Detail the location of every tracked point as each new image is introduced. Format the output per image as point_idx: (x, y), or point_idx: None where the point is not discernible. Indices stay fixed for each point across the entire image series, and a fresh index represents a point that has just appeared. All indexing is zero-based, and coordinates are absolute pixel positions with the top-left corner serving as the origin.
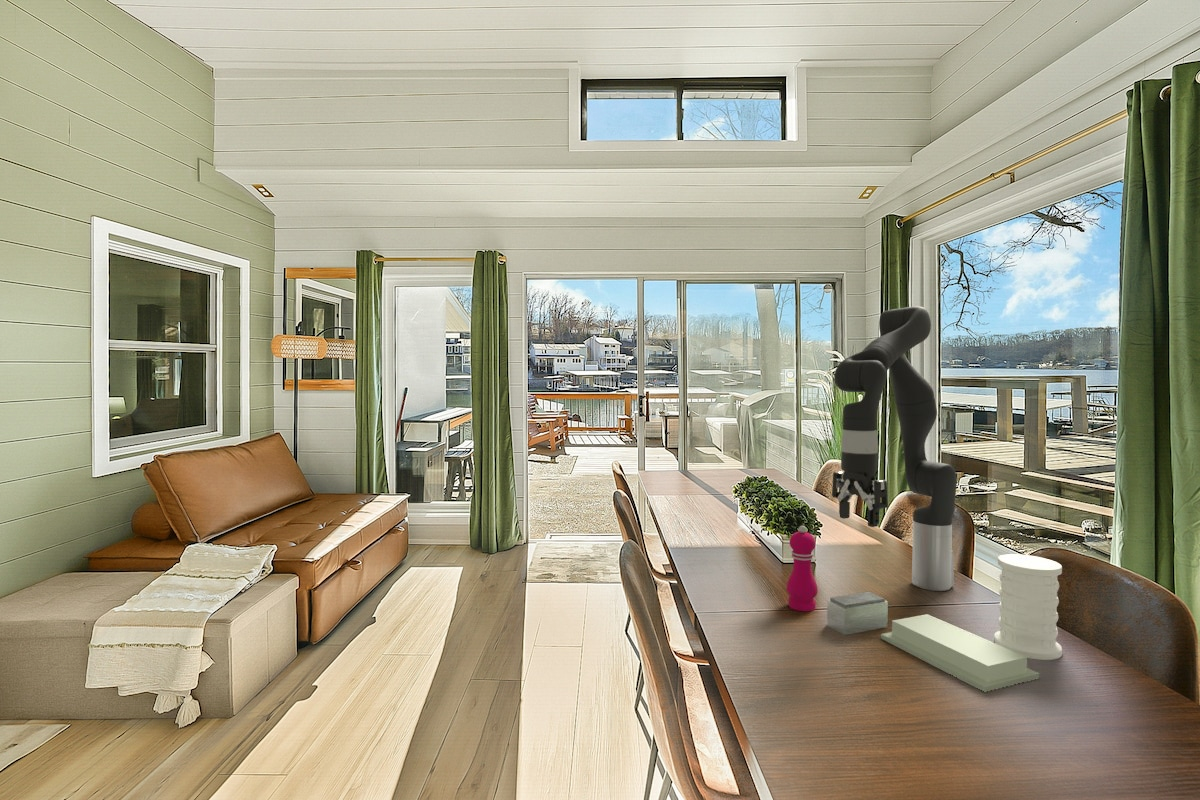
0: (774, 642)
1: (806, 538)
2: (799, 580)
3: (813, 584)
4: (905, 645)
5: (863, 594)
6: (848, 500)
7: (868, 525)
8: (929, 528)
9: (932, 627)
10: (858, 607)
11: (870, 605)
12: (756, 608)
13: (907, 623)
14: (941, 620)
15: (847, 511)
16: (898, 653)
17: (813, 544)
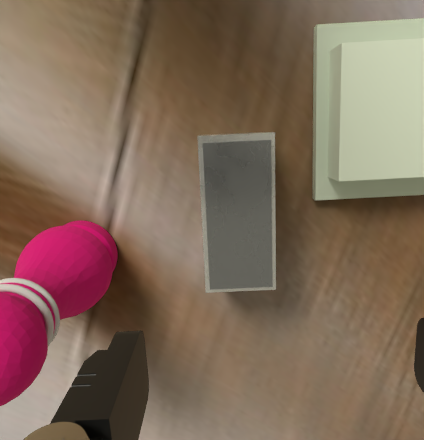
0: (247, 416)
1: (15, 377)
2: (79, 309)
3: (95, 265)
4: (386, 192)
5: (219, 179)
6: (79, 429)
7: (421, 381)
8: None
9: (417, 110)
10: (274, 242)
11: (274, 199)
12: (68, 359)
13: (369, 156)
14: (393, 41)
15: (135, 378)
16: (386, 216)
17: (33, 329)
